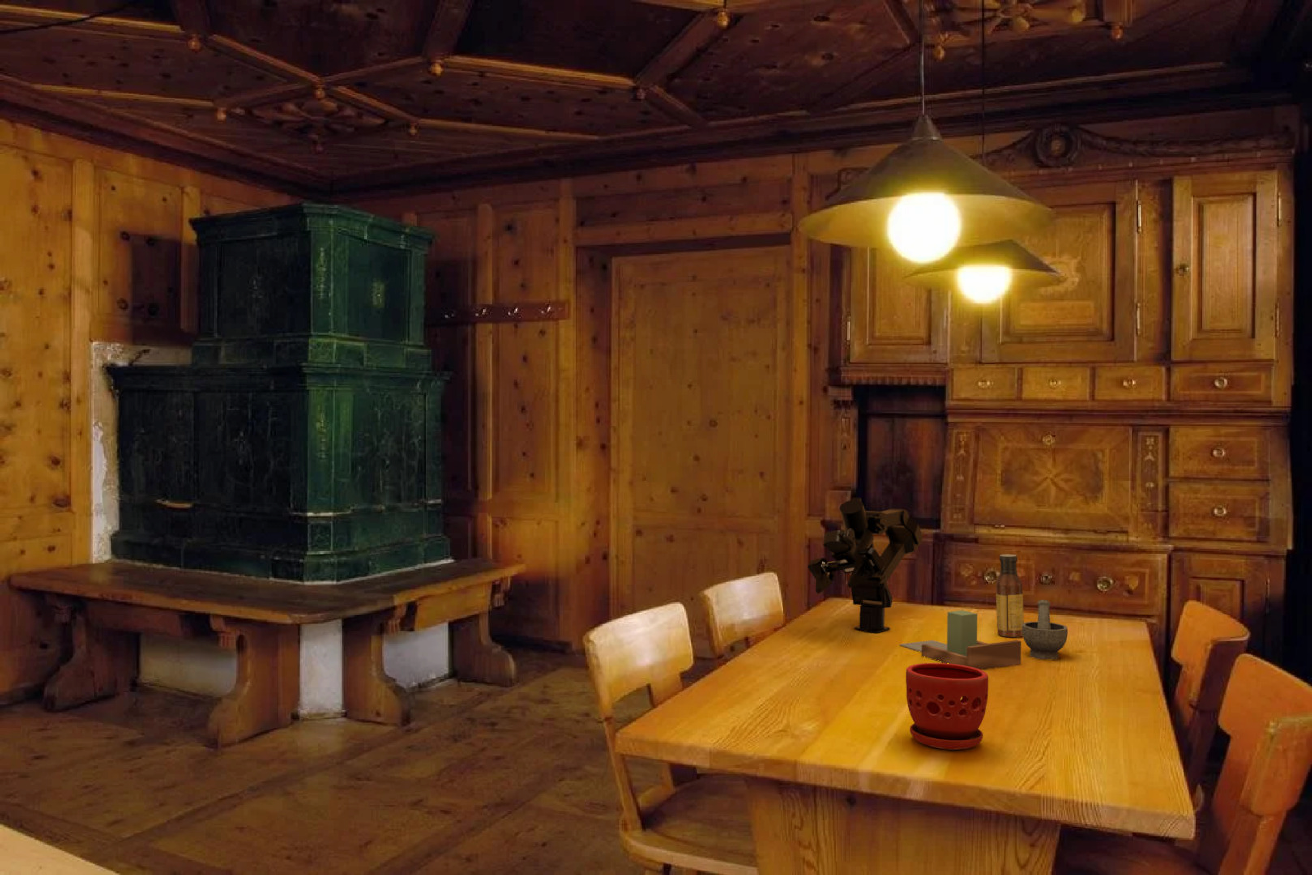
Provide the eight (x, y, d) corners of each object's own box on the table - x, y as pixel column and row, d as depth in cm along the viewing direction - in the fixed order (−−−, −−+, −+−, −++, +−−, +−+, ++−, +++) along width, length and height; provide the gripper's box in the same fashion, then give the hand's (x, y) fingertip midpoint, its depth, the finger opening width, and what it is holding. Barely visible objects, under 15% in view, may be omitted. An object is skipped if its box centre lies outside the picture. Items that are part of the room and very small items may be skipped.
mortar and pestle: (1068, 663, 218) (1068, 608, 217) (1022, 659, 221) (1023, 605, 221) (1064, 651, 228) (1065, 599, 228) (1021, 648, 231) (1021, 597, 231)
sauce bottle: (1026, 634, 246) (1027, 554, 246) (1020, 639, 241) (1021, 557, 240) (998, 631, 249) (999, 552, 249) (992, 636, 244) (993, 555, 244)
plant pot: (1003, 751, 160) (1004, 677, 160) (928, 757, 157) (928, 681, 157) (962, 726, 173) (962, 657, 172) (891, 731, 170) (892, 661, 170)
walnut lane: (921, 655, 224) (921, 633, 224) (969, 649, 230) (970, 627, 230) (970, 671, 210) (971, 647, 210) (1020, 664, 217) (1021, 641, 217)
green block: (947, 656, 224) (947, 611, 223) (962, 654, 226) (962, 610, 225) (961, 660, 220) (961, 615, 219) (976, 658, 222) (977, 613, 221)
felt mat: (899, 645, 234) (899, 644, 234) (932, 641, 238) (932, 640, 238) (929, 654, 225) (929, 653, 225) (962, 650, 229) (962, 648, 229)
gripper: (808, 528, 246) (783, 569, 236) (871, 513, 233) (847, 555, 223) (831, 563, 249) (808, 604, 239) (894, 549, 236) (872, 593, 226)
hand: (832, 589), depth 231 cm, fingers open, 9 cm apart
